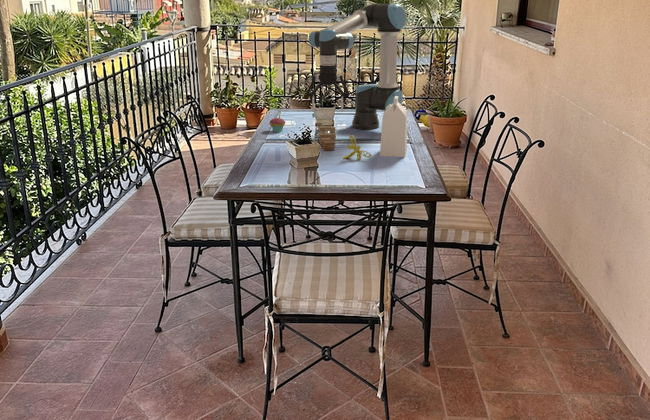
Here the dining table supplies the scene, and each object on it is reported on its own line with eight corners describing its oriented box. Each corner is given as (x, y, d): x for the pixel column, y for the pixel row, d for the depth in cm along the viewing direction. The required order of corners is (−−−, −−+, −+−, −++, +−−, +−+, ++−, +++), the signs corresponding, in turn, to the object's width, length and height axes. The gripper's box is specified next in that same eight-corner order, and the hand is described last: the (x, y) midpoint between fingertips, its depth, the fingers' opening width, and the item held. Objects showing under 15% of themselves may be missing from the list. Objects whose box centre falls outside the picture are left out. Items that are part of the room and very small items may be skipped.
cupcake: (286, 129, 313) (286, 107, 308) (284, 133, 305) (283, 110, 301) (271, 129, 313) (270, 107, 309) (268, 132, 306) (267, 110, 301)
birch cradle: (319, 136, 299) (319, 126, 297) (335, 136, 299) (335, 126, 297) (319, 144, 283) (319, 134, 281) (335, 144, 283) (335, 134, 281)
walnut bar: (320, 145, 281) (320, 137, 280) (329, 145, 282) (329, 137, 281) (324, 151, 271) (324, 143, 270) (334, 151, 272) (334, 142, 271)
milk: (404, 157, 262) (408, 99, 253) (379, 155, 264) (382, 98, 255) (406, 150, 273) (409, 95, 264) (382, 149, 275) (384, 94, 266)
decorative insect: (357, 169, 261) (372, 154, 256) (355, 171, 259) (370, 156, 254) (338, 148, 262) (352, 133, 257) (335, 150, 259) (349, 135, 254)
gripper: (300, 65, 261) (300, 112, 269) (355, 65, 261) (354, 112, 268) (301, 63, 268) (301, 108, 276) (354, 63, 268) (353, 108, 275)
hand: (327, 110), depth 272 cm, fingers open, 13 cm apart
